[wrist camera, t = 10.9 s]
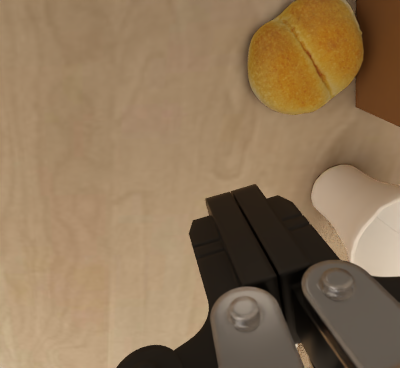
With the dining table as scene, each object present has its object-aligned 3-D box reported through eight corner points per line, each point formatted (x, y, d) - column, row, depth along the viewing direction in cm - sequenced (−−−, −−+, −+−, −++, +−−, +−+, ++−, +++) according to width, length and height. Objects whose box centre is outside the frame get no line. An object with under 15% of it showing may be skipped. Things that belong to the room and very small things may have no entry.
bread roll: (225, 51, 27) (239, 58, 24) (322, -26, 26) (352, -31, 23) (276, 130, 31) (294, 147, 28) (363, 66, 30) (394, 75, 27)
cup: (333, 238, 38) (395, 308, 30) (277, 195, 34) (330, 260, 26) (397, 178, 36) (484, 234, 27) (345, 124, 32) (427, 170, 24)
